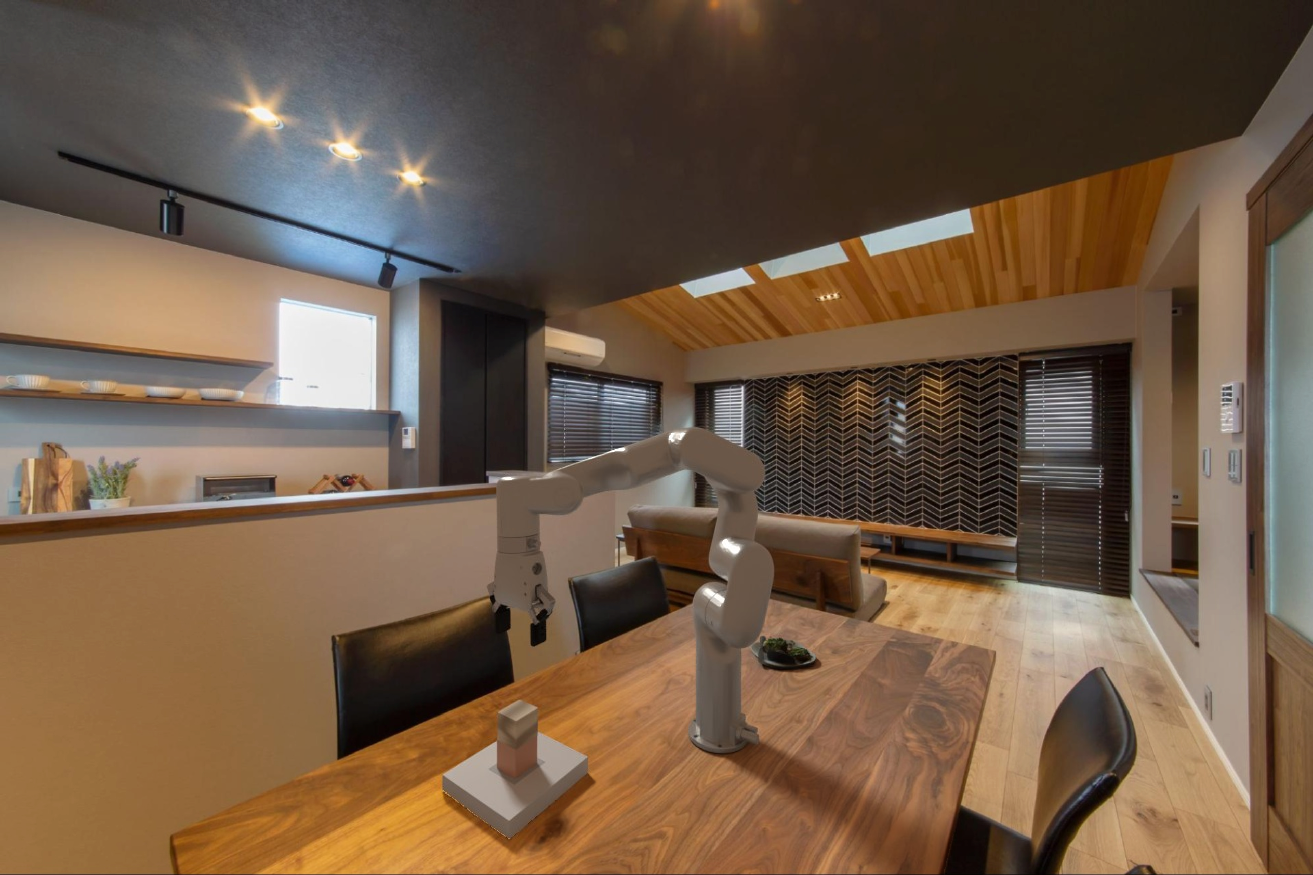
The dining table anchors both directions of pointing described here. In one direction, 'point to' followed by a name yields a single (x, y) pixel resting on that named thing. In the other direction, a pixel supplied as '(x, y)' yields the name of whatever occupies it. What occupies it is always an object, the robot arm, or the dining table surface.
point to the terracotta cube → (516, 757)
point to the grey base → (514, 784)
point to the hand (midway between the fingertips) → (520, 637)
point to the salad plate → (782, 654)
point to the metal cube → (517, 724)
